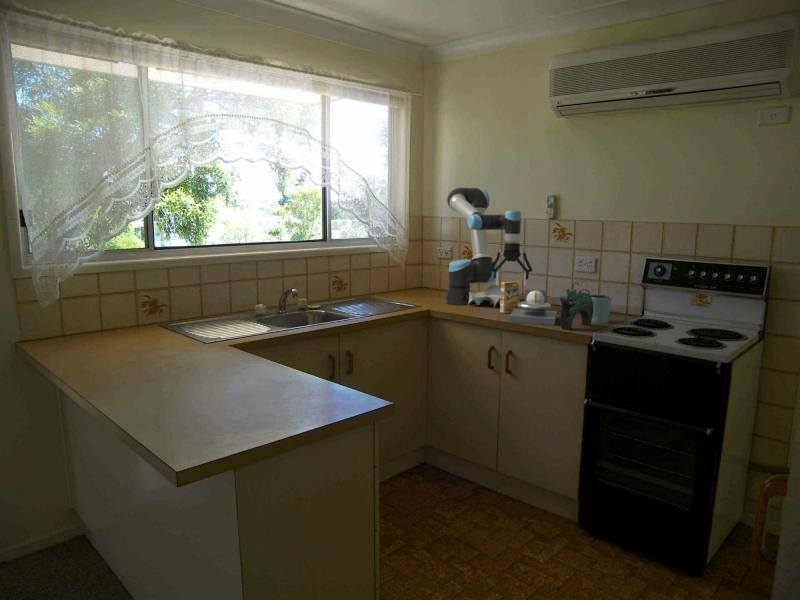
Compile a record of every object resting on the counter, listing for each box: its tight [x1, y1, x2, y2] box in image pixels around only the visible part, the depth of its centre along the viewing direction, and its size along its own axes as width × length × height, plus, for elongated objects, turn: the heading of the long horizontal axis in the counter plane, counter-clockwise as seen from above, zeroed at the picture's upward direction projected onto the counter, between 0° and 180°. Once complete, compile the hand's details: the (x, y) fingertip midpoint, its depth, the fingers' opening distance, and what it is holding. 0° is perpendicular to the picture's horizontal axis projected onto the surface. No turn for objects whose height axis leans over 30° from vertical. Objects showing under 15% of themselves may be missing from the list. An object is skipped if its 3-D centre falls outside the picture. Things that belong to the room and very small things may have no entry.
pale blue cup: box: [590, 294, 613, 324], centre depth 267 cm, size 10×10×12 cm
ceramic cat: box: [559, 282, 593, 331], centre depth 254 cm, size 20×6×20 cm, turn 126°
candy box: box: [499, 281, 521, 314], centre depth 288 cm, size 9×4×15 cm, turn 107°
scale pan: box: [517, 300, 552, 310], centre depth 270 cm, size 15×15×2 cm
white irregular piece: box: [468, 284, 501, 308], centre depth 314 cm, size 25×19×10 cm
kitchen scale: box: [508, 288, 558, 326], centre depth 270 cm, size 20×20×13 cm
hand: (510, 285), depth 287 cm, fingers open, 13 cm apart
